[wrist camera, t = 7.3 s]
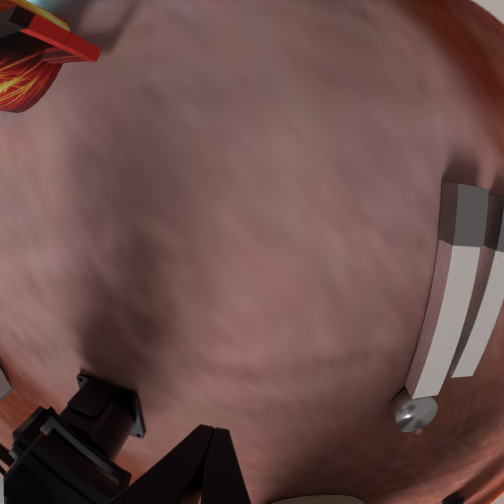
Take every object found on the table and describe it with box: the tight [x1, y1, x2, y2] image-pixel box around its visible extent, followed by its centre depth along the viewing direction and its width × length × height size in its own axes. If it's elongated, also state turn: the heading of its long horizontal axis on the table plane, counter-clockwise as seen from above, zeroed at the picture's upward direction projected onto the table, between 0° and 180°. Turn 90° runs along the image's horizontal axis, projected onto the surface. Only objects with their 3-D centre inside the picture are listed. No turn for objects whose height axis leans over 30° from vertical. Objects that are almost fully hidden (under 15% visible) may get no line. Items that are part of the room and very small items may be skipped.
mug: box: [0, 0, 102, 113], centre depth 10 cm, size 10×14×12 cm
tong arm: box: [391, 182, 489, 432], centre depth 16 cm, size 19×4×2 cm, turn 179°
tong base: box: [448, 194, 504, 378], centre depth 15 cm, size 14×3×2 cm, turn 174°
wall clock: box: [0, 446, 16, 476], centre depth 38 cm, size 31×4×31 cm
